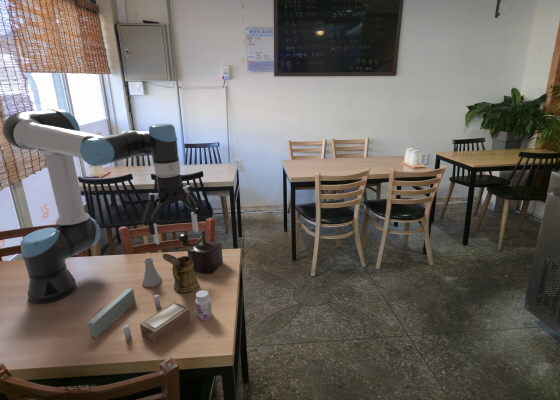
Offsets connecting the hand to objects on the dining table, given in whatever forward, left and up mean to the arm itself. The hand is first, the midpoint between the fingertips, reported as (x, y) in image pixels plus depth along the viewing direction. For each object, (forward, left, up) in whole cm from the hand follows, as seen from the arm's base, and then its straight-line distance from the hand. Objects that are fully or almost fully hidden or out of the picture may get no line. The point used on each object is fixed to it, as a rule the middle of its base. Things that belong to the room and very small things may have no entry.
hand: (176, 237), depth 116 cm
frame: (+2, -16, -24) cm, 29 cm away
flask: (-18, +7, -24) cm, 31 cm away
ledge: (-12, -14, -24) cm, 30 cm away
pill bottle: (+11, -7, -24) cm, 28 cm away
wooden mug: (-4, +5, -24) cm, 25 cm away
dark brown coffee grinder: (-3, +20, -24) cm, 32 cm away
